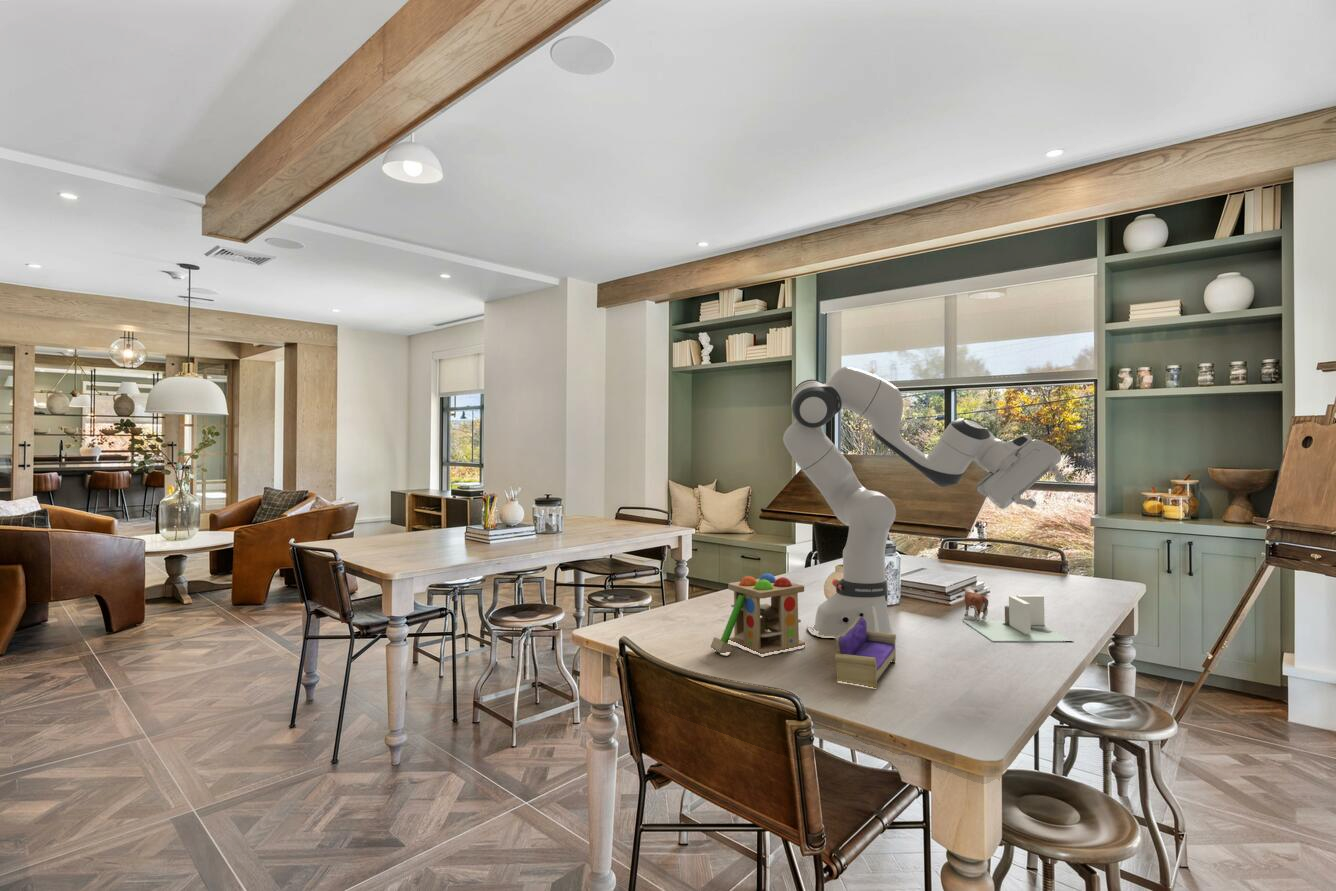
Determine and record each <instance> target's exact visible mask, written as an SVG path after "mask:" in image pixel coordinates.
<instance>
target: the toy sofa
mask: <svg viewBox="0 0 1336 891" xmlns="http://www.w3.org/2000/svg"><path fill="white" fill-rule="evenodd" d="M896 640H897V635H896V633H892V634H889V633H881V632H872V631H867V623H866V621H865V619H864V618H862V617H857V619H856V621H855V622H854V624H853V625H852V626H851V627H850V628H849V629H848V630H847V631H846V632H845V633H844V634H842V635H841V636H840V635H837V637H836V639H835V644H836V653H835V656H834V659H835V660H834V661H835V666H836V667H835V668H836V670H835V671H836V682H837V681H842V682H847V683H853V684H859V685H864V686H868V687H873V688H877V689H878V680H879V679H880V677H881V676H882V674H883V673H884V671H885V670H886V669H887V668H888V666H889V665H890V662H891V661H892V662H895V661H897V660H896V657H897V655H896V650H897V649H896ZM895 663H896V662H895Z"/></svg>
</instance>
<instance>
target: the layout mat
mask: <svg viewBox="0 0 1336 891" xmlns="http://www.w3.org/2000/svg"><path fill="white" fill-rule="evenodd" d="M963 621H964V622H965V624H966V625H967V624H968V625H967V626H969V627H970V626H971V627H970V628H971V629H973V630H974V631H976V632H977V633H979V634H980V633H981V634H980V635H982V636H983V635H984V637H985V638H986V637H987V638H986V639H988V640H989V639H990V641H991V642H992V643H1066V642H1065V641H1074V640H1073V639H1072V638H1070V637H1067V636H1065V635H1063V634H1061V632H1057V631H1056V630H1054V629H1052V628H1050V627H1048V626H1047V625H1046V624H1045V625H1031V634H1024V633H1022V632H1020V631H1019V630H1017V629H1015V628H1014V627H1012V626H1010V625H1006V624H1005V620H979V621H977V620H963ZM964 622H963V623H964ZM1063 641H1064V642H1063Z"/></svg>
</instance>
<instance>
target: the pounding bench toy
mask: <svg viewBox="0 0 1336 891" xmlns="http://www.w3.org/2000/svg"><path fill="white" fill-rule="evenodd" d="M727 586H728V590H729V591H732V592H733V604H731V605H730V607H731V608H732V611H731V614H730V616H729V619H728V621H727V623H726V626H725V628H724V630H723V633H722V636H721V638H718V637H715V636H714V637H713V640H712V641H711V644H710V648H711V649H712V648H713V649H714V650H716V651H717V652H719V653H726V652H731V653H732V651H733V648H734V646H731V645H730V644H728V640H731V641H733V642H736V643H738V644H740V645H742V646H744V647H747V648H749V649H751V650H753V651H756V652H758V653H760V654H765V653H769V652H774V651H780V650H785V649H789V648H794V647H798V646H802V645H805V646H806V641H803V640H800V639H799V638H800V636H799V635H800V634H799V633H800V632H799V623H802V620H801V619H799V603H798V602H799V598H798V597H799V596H798V594H799V593H803V592H805V585H803V584H799V583H793V582H791V580H790V579H789V578H786V577H779V578H776V577H775V576H774V575H773V574H772V573H768V572H767V573H763V574H761V576H760V577H759V578H755V577H753V576H750V575H746V576H744V577H743V578H741V580H740V581H735V582H728V584H727ZM768 598H770V604H768V603H763V604H761V600H762V599H768ZM733 632H734V636H732V637H731V635H732V633H733ZM713 649H712V650H713ZM714 650H713V651H714ZM716 651H715V652H716ZM717 652H716V653H717ZM719 653H718V654H719Z"/></svg>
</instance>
